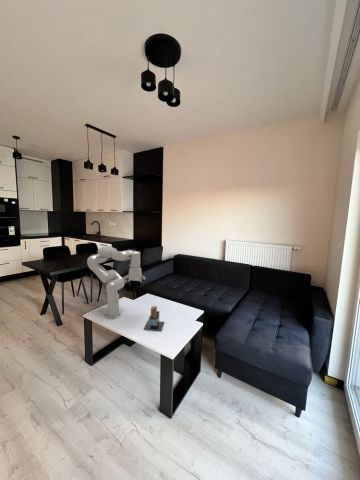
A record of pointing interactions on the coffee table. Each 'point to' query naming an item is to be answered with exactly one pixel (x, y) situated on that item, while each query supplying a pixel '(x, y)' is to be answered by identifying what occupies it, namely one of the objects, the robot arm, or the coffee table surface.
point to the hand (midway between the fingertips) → (135, 286)
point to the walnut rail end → (153, 312)
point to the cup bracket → (154, 324)
